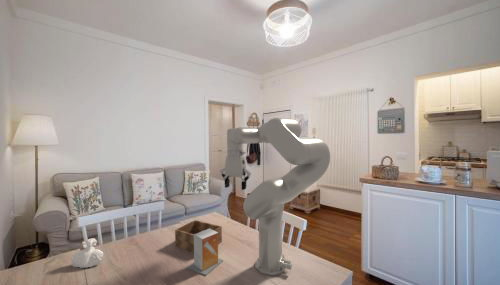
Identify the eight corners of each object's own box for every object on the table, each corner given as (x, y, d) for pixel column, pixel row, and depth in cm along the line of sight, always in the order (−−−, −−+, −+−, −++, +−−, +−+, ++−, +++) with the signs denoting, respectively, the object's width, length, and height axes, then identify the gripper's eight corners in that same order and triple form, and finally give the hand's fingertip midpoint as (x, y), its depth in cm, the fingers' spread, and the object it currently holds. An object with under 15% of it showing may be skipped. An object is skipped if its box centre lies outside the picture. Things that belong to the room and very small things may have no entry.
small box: (202, 271, 85) (202, 239, 84) (193, 265, 89) (193, 234, 89) (218, 262, 90) (218, 232, 90) (209, 256, 95) (209, 227, 94)
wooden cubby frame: (221, 241, 109) (221, 226, 109) (203, 255, 97) (203, 238, 97) (195, 234, 118) (195, 220, 118) (175, 245, 106) (175, 229, 105)
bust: (104, 267, 92) (111, 239, 99) (96, 265, 86) (104, 235, 93) (73, 270, 91) (83, 241, 97) (63, 268, 84) (74, 237, 91)
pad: (222, 261, 92) (222, 260, 92) (206, 275, 83) (206, 274, 83) (205, 255, 97) (205, 254, 97) (187, 268, 88) (187, 267, 88)
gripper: (254, 153, 104) (254, 188, 104) (224, 152, 112) (225, 184, 113) (246, 154, 97) (246, 192, 98) (216, 153, 106) (216, 188, 106)
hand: (235, 188), depth 105 cm, fingers open, 9 cm apart
